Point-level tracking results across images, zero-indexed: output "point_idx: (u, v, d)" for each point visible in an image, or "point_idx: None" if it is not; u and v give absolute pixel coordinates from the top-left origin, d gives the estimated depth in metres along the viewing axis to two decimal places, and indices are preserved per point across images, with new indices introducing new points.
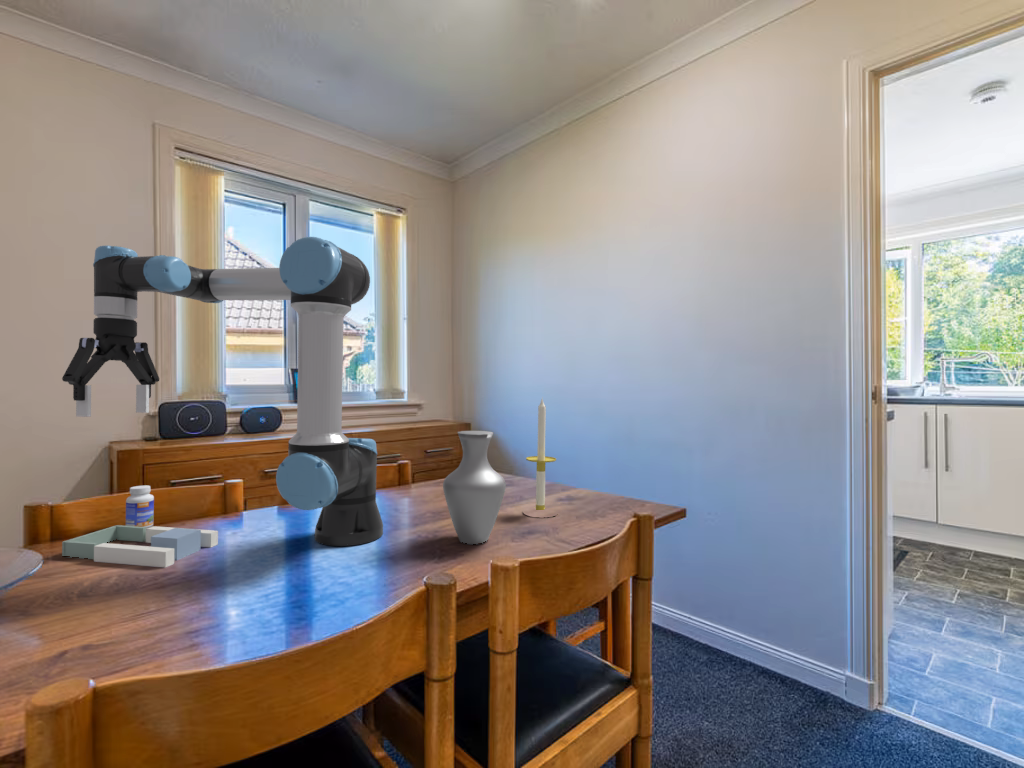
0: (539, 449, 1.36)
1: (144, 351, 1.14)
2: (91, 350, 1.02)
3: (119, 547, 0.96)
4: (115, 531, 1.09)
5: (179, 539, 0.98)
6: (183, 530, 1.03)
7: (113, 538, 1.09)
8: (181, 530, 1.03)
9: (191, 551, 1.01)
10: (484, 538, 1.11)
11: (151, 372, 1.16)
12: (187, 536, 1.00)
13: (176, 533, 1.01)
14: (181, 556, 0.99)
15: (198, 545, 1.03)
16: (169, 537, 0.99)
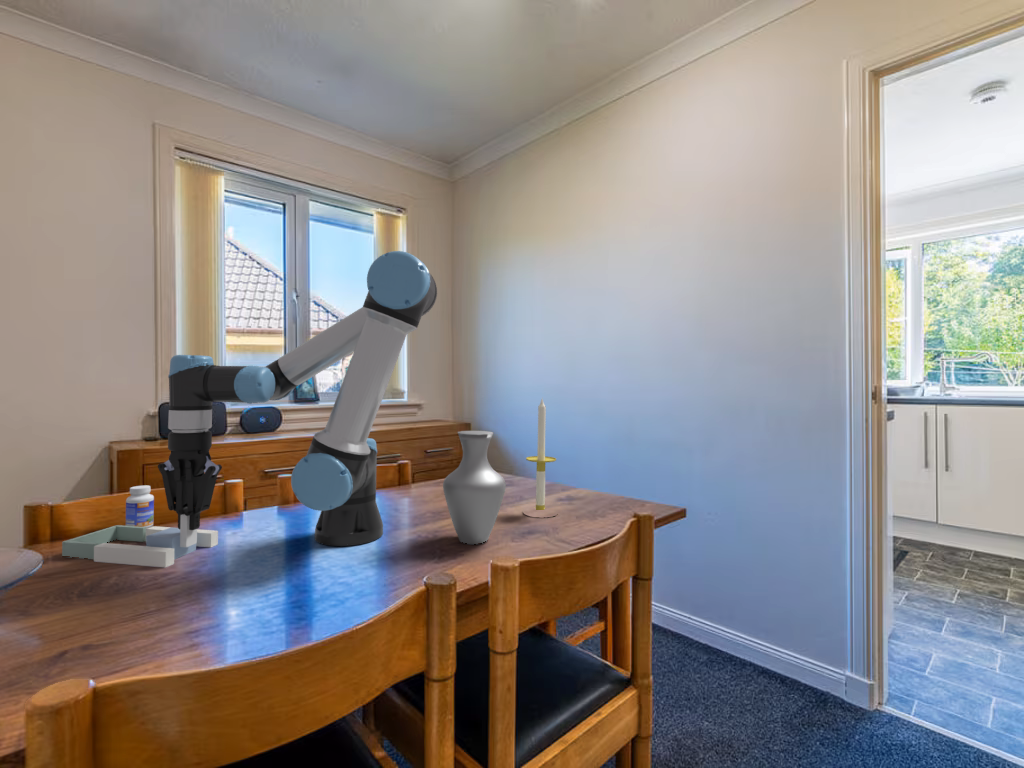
0: (539, 449, 1.36)
1: (205, 474, 0.99)
2: (165, 474, 1.00)
3: (119, 547, 0.96)
4: (115, 531, 1.09)
5: (174, 539, 0.98)
6: (179, 529, 1.03)
7: (113, 538, 1.09)
8: (177, 529, 1.03)
9: (186, 550, 1.01)
10: (484, 538, 1.11)
11: None
12: None
13: (172, 532, 1.01)
14: (176, 555, 0.99)
15: (193, 545, 1.03)
16: (164, 536, 0.99)
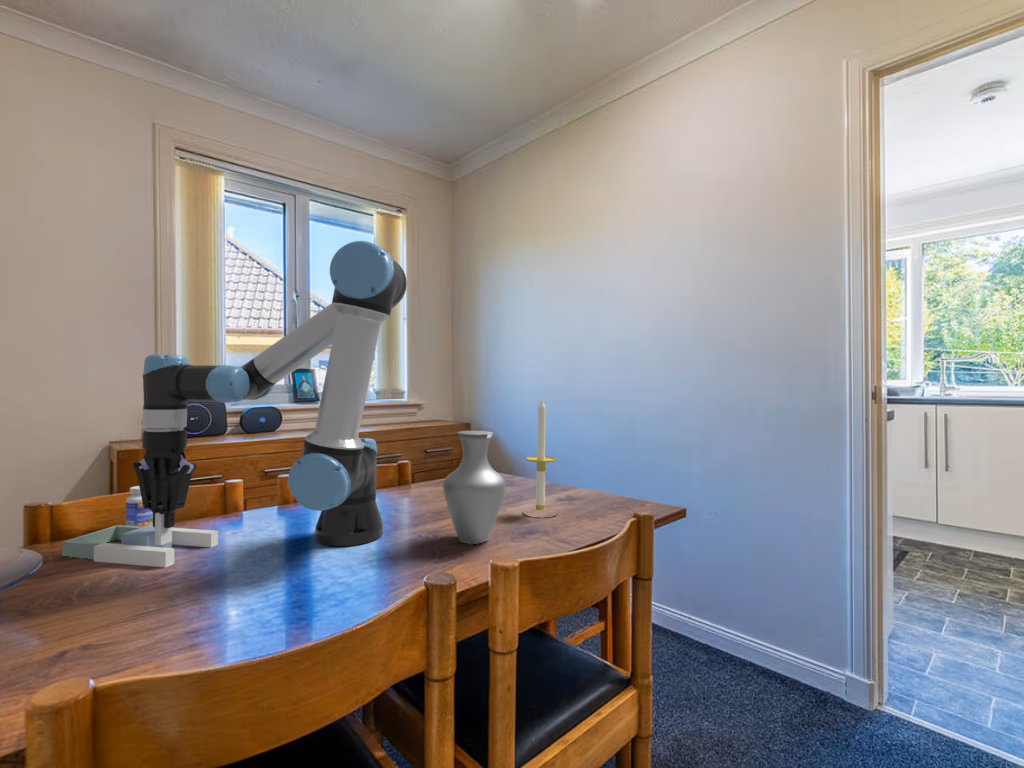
0: (539, 449, 1.36)
1: (179, 472, 1.00)
2: (140, 473, 1.01)
3: (119, 547, 0.96)
4: (115, 531, 1.09)
5: (149, 537, 0.99)
6: (154, 528, 1.04)
7: (113, 538, 1.09)
8: (152, 528, 1.04)
9: None
10: (484, 538, 1.11)
11: None
12: None
13: (147, 530, 1.02)
14: None
15: (169, 543, 1.04)
16: (139, 534, 1.00)
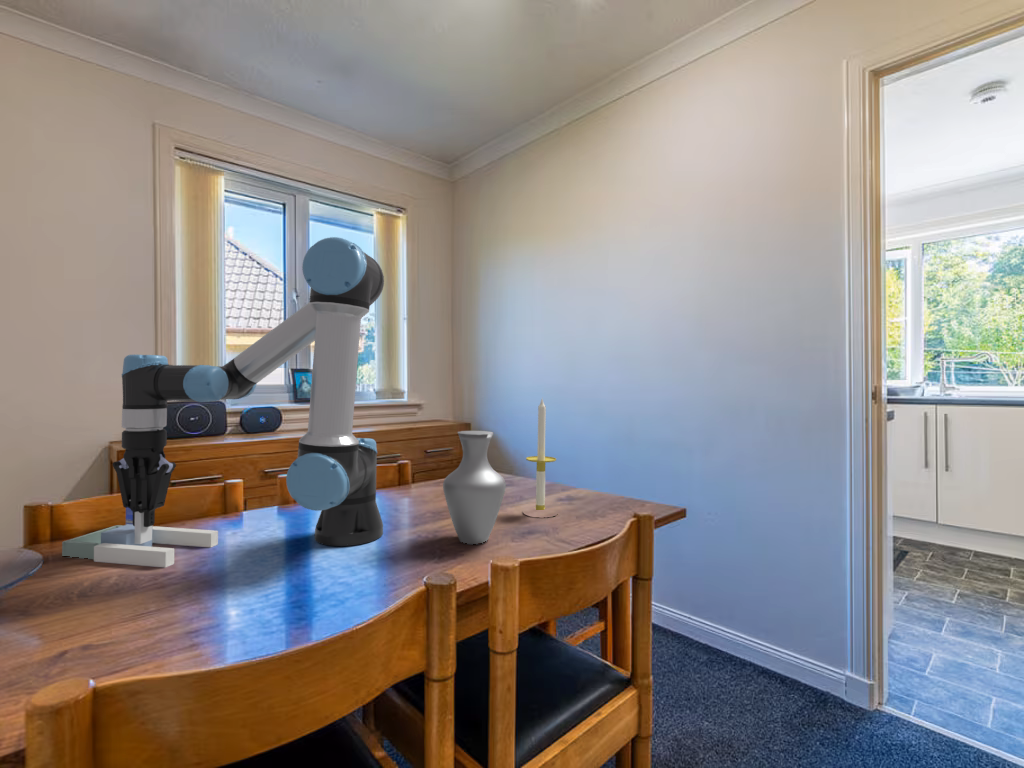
0: (539, 449, 1.36)
1: (158, 471, 1.00)
2: (120, 472, 1.02)
3: (119, 547, 0.96)
4: None
5: (128, 535, 1.00)
6: None
7: None
8: (133, 526, 1.05)
9: None
10: (484, 538, 1.11)
11: None
12: None
13: (127, 529, 1.03)
14: None
15: (149, 541, 1.05)
16: (119, 532, 1.00)
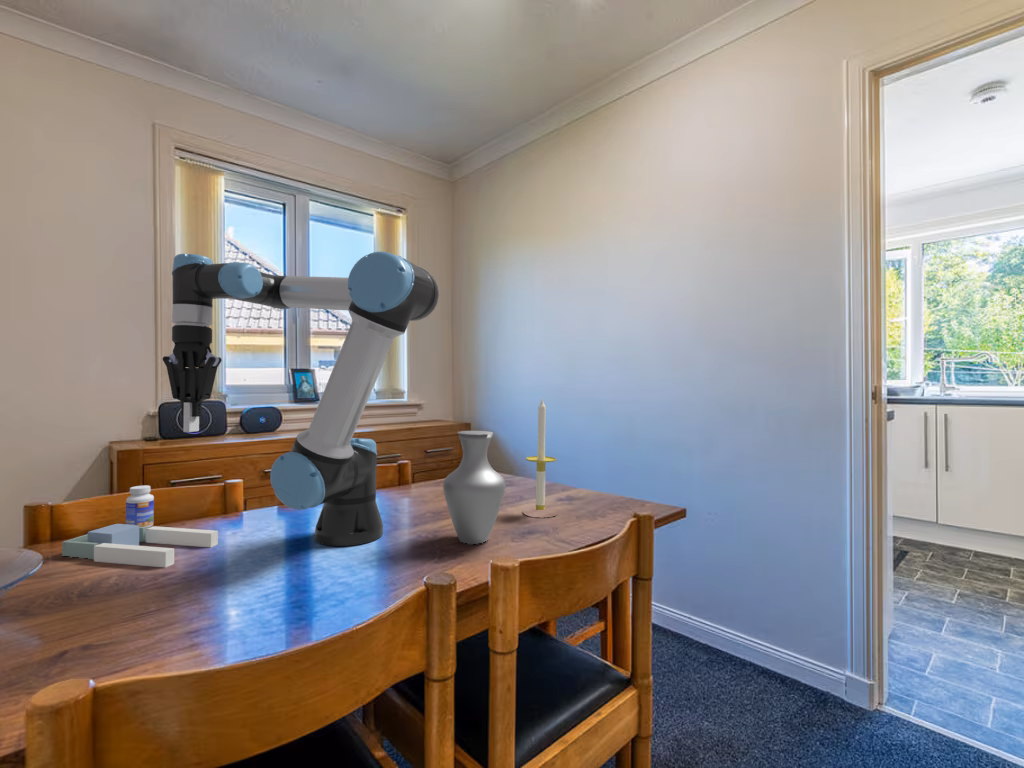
0: (539, 449, 1.36)
1: (206, 364, 1.08)
2: (169, 366, 1.09)
3: (119, 547, 0.96)
4: None
5: (114, 535, 1.00)
6: (122, 526, 1.05)
7: None
8: (120, 526, 1.05)
9: None
10: (484, 538, 1.11)
11: None
12: (123, 532, 1.02)
13: (114, 529, 1.03)
14: None
15: (136, 541, 1.05)
16: (105, 532, 1.01)
